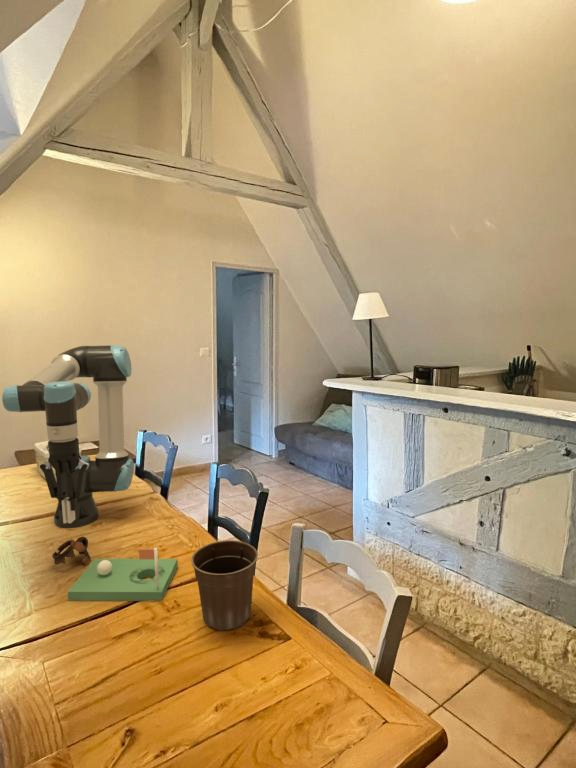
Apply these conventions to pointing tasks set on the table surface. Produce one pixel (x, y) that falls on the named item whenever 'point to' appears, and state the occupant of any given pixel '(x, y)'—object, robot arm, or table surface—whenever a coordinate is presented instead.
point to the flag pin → (151, 555)
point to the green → (124, 581)
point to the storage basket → (44, 455)
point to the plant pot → (225, 582)
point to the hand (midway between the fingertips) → (69, 521)
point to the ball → (104, 567)
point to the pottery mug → (72, 550)
